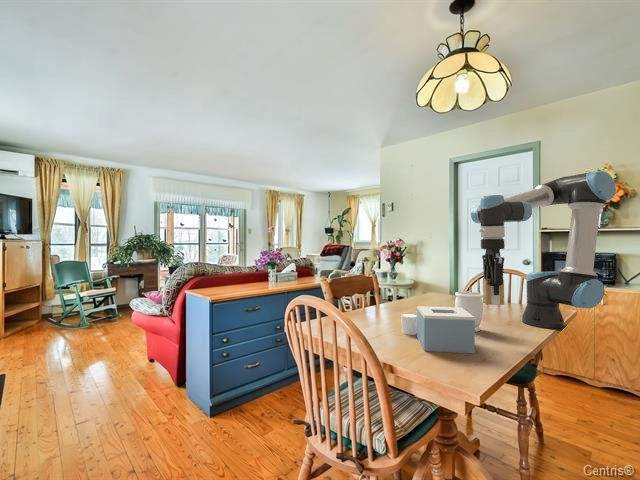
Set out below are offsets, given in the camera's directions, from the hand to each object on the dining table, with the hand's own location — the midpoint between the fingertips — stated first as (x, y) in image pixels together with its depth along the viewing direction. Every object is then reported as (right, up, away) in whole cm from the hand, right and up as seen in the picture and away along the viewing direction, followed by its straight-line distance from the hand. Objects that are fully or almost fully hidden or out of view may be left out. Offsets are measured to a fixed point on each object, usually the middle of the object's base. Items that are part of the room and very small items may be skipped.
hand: (493, 302), depth 113 cm
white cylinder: (-27, -15, +12) cm, 33 cm away
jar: (-1, -15, +16) cm, 22 cm away
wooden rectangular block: (0, 0, 0) cm, 0 cm away
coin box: (-19, -15, -2) cm, 24 cm away
